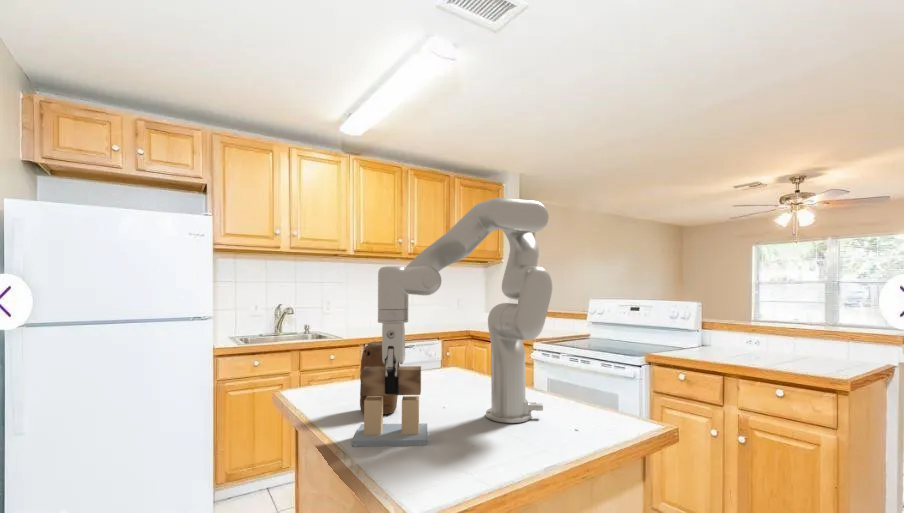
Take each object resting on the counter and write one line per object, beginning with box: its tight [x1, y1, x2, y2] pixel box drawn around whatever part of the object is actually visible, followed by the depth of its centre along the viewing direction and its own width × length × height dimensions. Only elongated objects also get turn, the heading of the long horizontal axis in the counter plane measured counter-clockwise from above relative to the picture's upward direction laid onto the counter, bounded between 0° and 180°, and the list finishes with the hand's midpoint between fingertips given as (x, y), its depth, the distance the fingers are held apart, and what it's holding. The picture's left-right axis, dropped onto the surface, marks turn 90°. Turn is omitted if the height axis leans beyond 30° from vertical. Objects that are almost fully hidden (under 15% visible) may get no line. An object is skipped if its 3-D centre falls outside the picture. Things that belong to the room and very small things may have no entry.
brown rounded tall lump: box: [359, 340, 399, 415], centre depth 130 cm, size 11×8×20 cm
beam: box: [362, 365, 422, 396], centre depth 109 cm, size 14×4×6 cm, turn 92°
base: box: [351, 395, 428, 447], centre depth 108 cm, size 17×12×9 cm
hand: (392, 390), depth 109 cm, fingers closed on beam, 4 cm apart
